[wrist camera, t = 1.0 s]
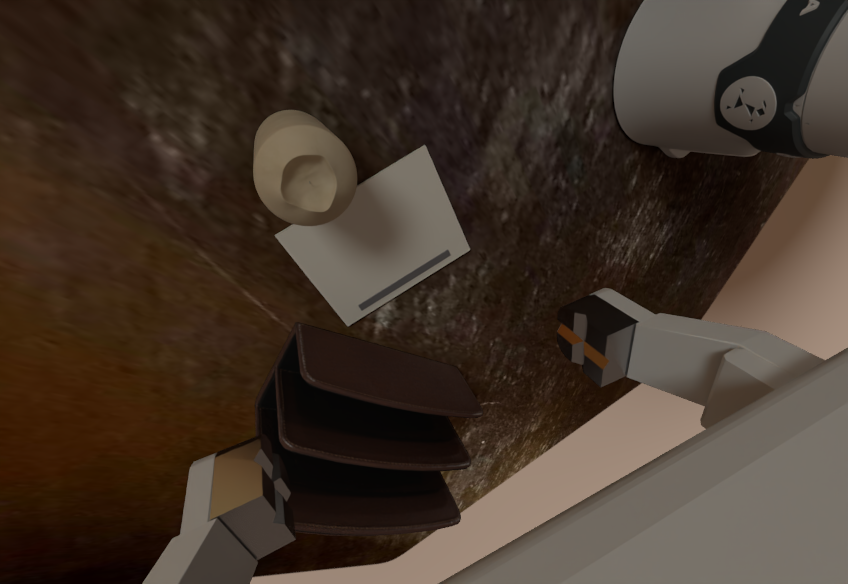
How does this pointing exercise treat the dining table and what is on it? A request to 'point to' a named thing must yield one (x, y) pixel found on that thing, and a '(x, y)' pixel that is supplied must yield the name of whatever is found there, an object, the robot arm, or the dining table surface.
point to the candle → (302, 169)
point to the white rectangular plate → (380, 239)
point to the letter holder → (364, 434)
